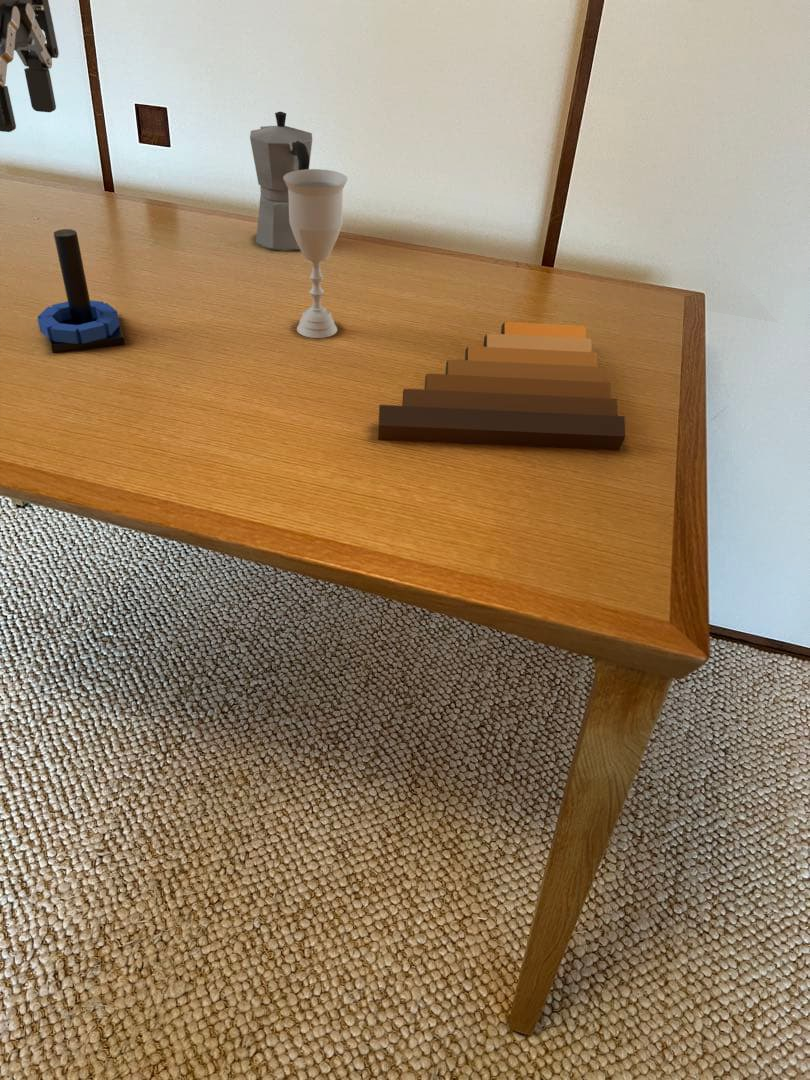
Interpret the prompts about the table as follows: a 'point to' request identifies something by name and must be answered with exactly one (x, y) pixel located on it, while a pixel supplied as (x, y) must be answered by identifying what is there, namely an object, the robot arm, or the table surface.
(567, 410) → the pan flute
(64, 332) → the ring
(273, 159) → the coffeepot
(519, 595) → the table surface
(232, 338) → the table surface
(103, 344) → the black peg stand
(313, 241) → the chalice
